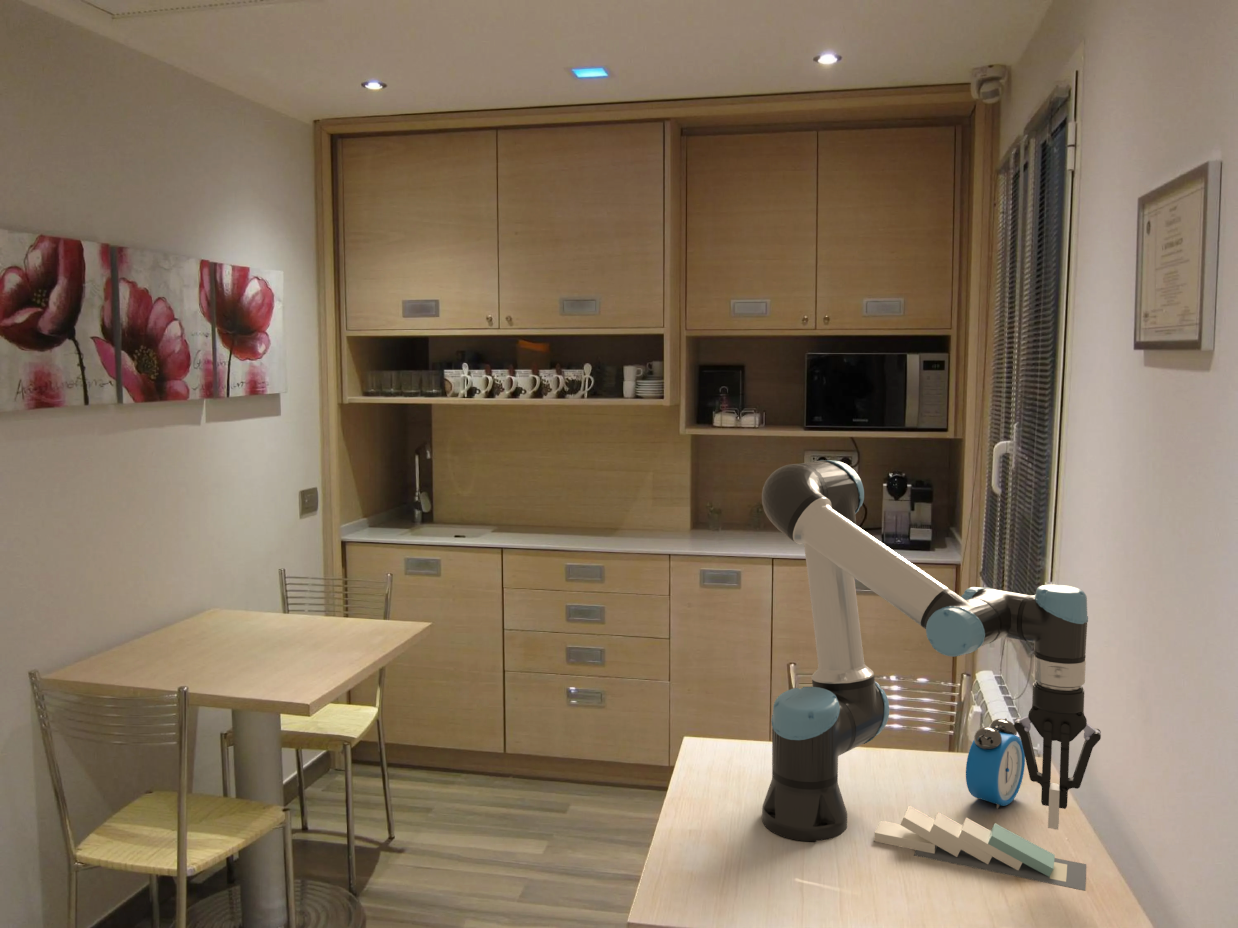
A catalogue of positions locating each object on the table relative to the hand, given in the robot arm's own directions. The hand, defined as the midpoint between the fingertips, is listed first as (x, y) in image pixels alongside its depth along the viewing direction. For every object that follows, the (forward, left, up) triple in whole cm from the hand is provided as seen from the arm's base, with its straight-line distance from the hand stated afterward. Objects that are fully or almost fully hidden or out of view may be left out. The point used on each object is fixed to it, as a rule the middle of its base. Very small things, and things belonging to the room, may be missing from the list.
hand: (1053, 824), depth 158 cm
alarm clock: (-11, +24, -8) cm, 28 cm away
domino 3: (-9, 0, -7) cm, 12 cm away
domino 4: (-5, 0, -7) cm, 8 cm away
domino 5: (0, 0, -7) cm, 7 cm away
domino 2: (-14, 0, -7) cm, 16 cm away
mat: (-8, 0, -8) cm, 11 cm away
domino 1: (-18, 0, -7) cm, 19 cm away
